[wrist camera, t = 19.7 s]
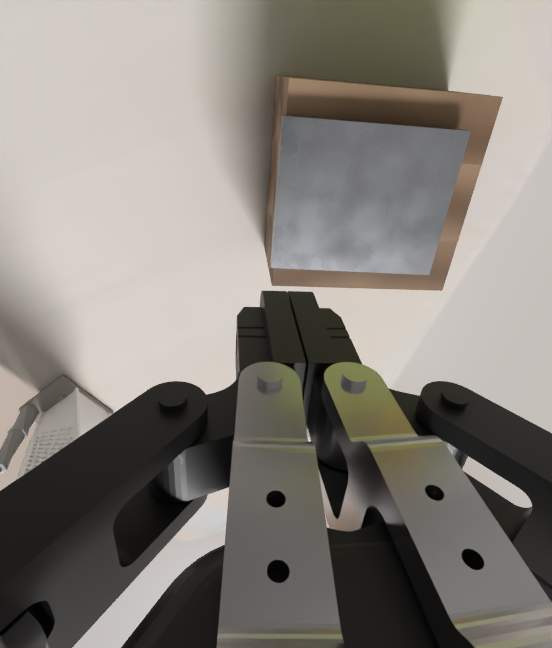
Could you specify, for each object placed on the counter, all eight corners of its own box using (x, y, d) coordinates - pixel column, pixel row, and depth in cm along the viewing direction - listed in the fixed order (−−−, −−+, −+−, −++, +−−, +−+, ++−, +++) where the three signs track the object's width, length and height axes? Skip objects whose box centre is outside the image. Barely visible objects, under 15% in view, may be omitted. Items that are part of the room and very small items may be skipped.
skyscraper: (72, 367, 45) (-108, 713, 21) (130, 410, 48) (34, 745, 25) (19, 407, 47) (-198, 763, 23) (79, 446, 50) (-55, 785, 27)
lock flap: (270, 262, 32) (271, 267, 31) (281, 114, 26) (283, 115, 26) (424, 269, 33) (429, 275, 32) (463, 129, 28) (470, 131, 27)
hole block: (276, 75, 32) (289, 77, 26) (448, 90, 34) (502, 96, 27) (264, 247, 40) (272, 285, 33) (407, 253, 41) (442, 290, 35)
